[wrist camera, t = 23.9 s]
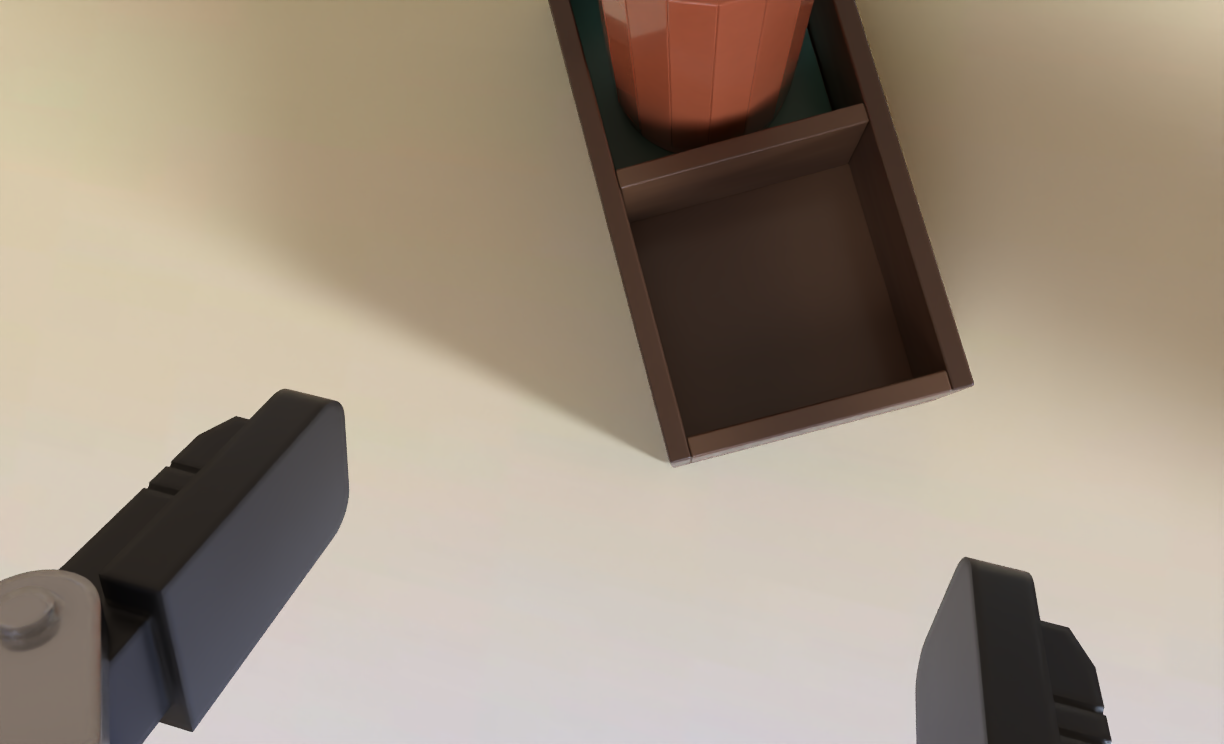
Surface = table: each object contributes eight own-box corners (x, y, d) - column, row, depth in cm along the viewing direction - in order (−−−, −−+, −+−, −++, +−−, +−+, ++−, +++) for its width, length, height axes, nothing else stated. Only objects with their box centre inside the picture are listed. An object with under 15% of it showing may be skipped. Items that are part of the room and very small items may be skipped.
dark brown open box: (792, -69, 31) (808, -152, 27) (935, 399, 29) (975, 385, 25) (549, -1, 32) (528, -72, 28) (672, 468, 30) (670, 464, 26)
